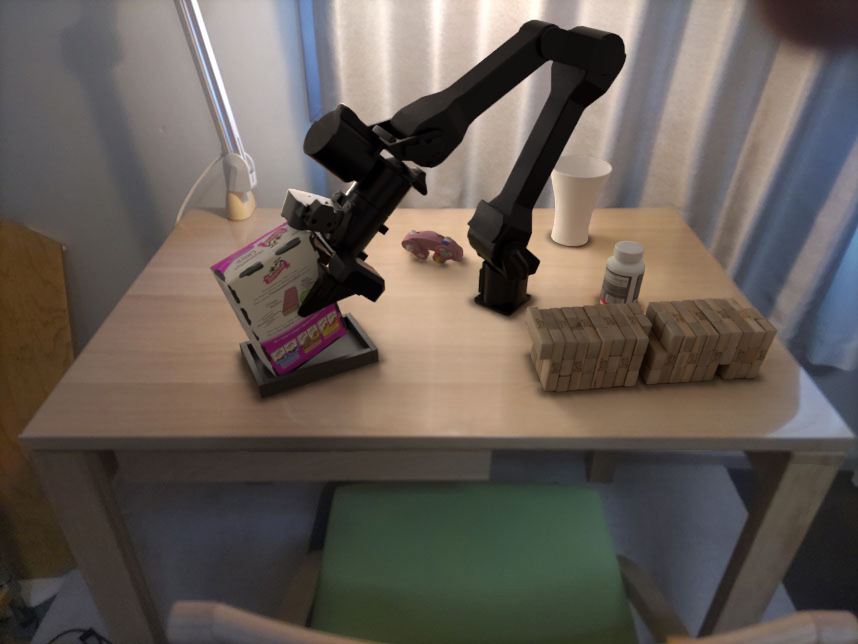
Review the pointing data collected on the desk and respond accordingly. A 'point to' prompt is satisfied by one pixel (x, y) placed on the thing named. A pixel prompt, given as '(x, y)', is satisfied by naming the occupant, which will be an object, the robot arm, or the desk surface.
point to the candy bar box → (279, 298)
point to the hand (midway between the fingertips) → (292, 304)
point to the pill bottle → (623, 274)
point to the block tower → (647, 343)
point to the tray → (314, 361)
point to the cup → (576, 196)
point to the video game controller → (432, 246)
